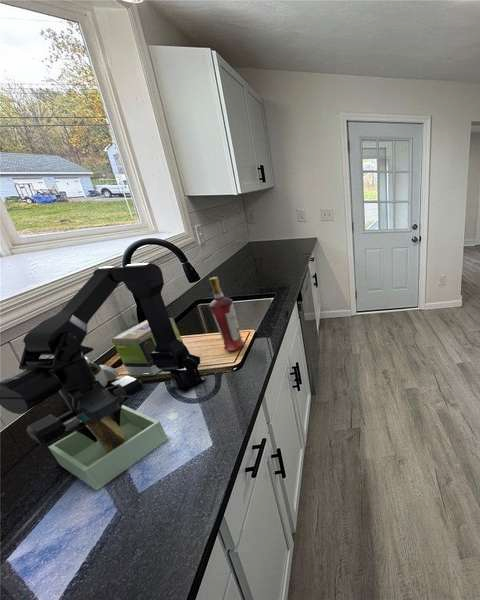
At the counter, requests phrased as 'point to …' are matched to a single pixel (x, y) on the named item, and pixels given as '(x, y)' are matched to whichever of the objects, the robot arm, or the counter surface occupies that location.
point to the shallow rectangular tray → (106, 466)
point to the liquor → (225, 318)
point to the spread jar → (102, 373)
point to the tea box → (139, 348)
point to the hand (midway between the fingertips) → (106, 434)
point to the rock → (107, 433)
